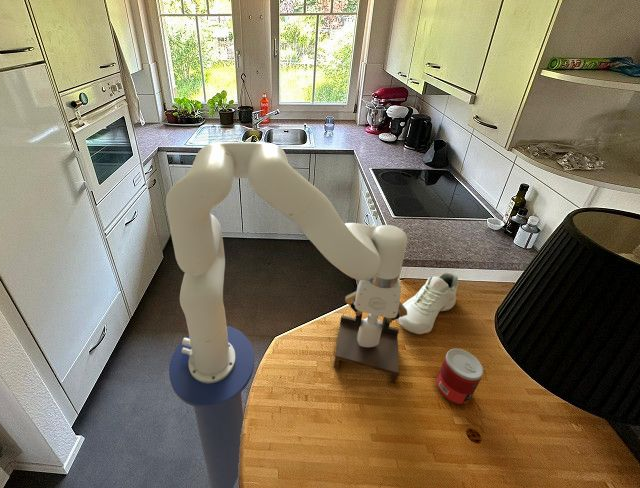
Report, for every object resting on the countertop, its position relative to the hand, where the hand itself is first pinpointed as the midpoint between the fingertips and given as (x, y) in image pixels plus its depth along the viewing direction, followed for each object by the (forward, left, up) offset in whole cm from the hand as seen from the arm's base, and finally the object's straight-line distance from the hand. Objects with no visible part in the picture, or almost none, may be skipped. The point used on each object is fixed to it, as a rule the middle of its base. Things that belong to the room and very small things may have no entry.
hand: (371, 325), depth 85 cm
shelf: (0, 0, -13) cm, 13 cm away
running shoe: (+17, +21, -13) cm, 30 cm away
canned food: (+22, -3, -13) cm, 26 cm away
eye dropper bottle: (0, 0, -7) cm, 7 cm away
